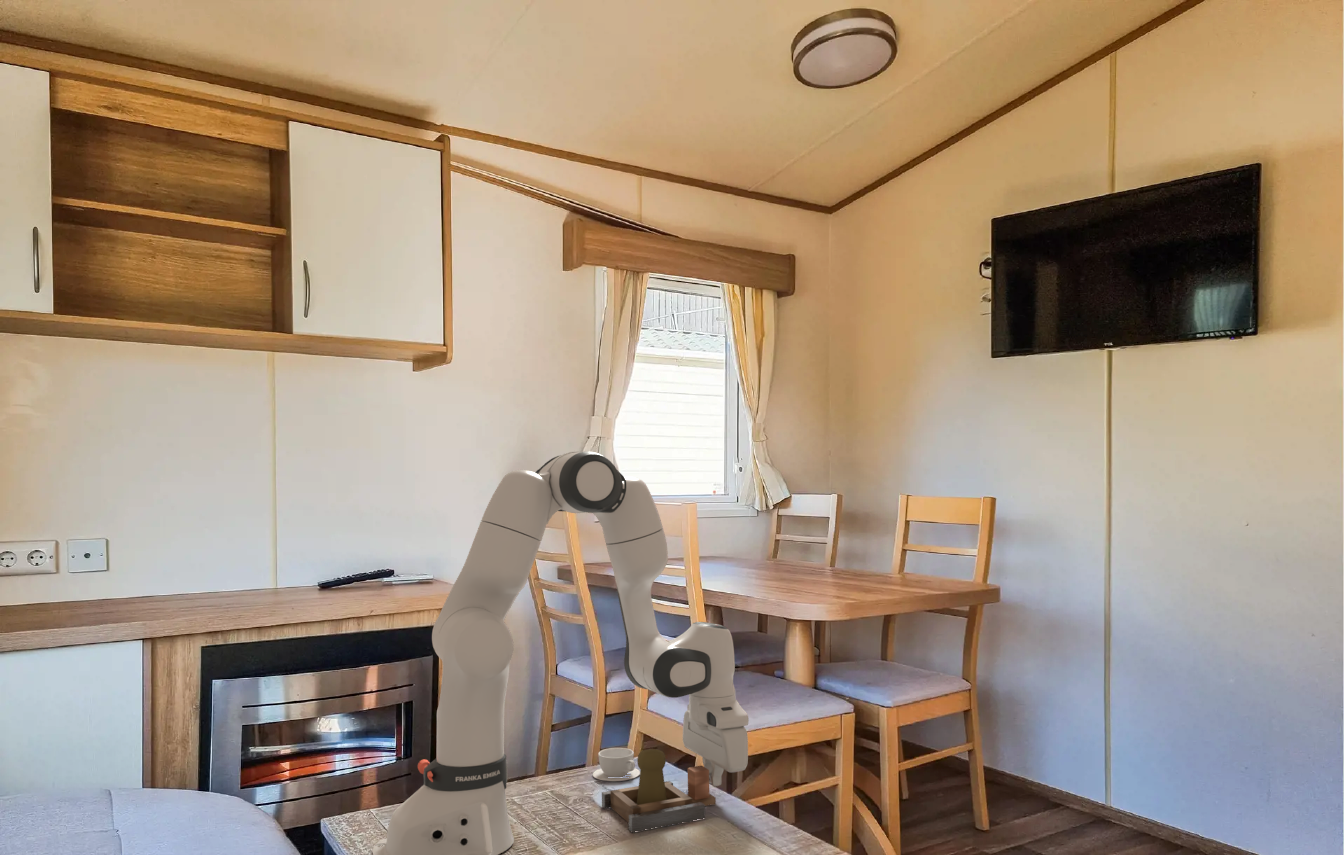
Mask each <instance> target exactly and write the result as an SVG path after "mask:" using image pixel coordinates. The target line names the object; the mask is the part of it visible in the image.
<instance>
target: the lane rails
mask: <svg viewBox="0 0 1344 855" xmlns="http://www.w3.org/2000/svg"><path fill="white" fill-rule="evenodd" d="M667 782H669V783H670V784H672V785H673V786H674V783H673V782H672V781H670V780H668V781H667ZM601 806H603V807H604V808H603V807H602V808H603V809H610V808H609V807H611V790H606V791H601ZM703 818H705V819H706V806H705V804H703V803H702V802H699V803H694V804H688V805H682V806H677V807H671V808H666V809H660V810H655V811H649V812H643V813H638V814H632V815H629V823H628V831H629V830H630V831H632V832H635V831H641V832H643V831H642V830H645V829H651V828H655V827H661V826H667V827H669V826H668V825H672V824H677V825H679V824H678V823H682V822H688V823H691V822H690V821H693V820H697V819H703ZM693 822H694V821H693ZM672 826H673V825H672ZM651 830H652V829H651ZM630 831H629V832H630ZM632 832H631V833H632ZM635 833H636V832H635Z"/></svg>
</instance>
